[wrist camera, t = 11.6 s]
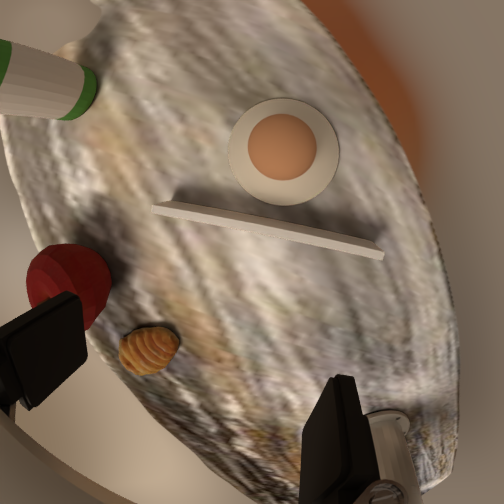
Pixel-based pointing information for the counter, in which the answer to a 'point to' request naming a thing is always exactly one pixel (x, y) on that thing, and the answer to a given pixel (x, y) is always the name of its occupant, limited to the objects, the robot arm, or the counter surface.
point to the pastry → (147, 350)
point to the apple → (70, 278)
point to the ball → (282, 147)
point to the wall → (269, 227)
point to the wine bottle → (42, 84)
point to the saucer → (288, 189)
